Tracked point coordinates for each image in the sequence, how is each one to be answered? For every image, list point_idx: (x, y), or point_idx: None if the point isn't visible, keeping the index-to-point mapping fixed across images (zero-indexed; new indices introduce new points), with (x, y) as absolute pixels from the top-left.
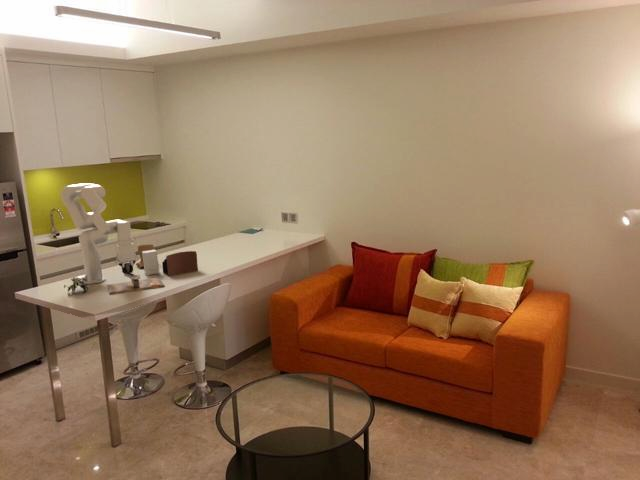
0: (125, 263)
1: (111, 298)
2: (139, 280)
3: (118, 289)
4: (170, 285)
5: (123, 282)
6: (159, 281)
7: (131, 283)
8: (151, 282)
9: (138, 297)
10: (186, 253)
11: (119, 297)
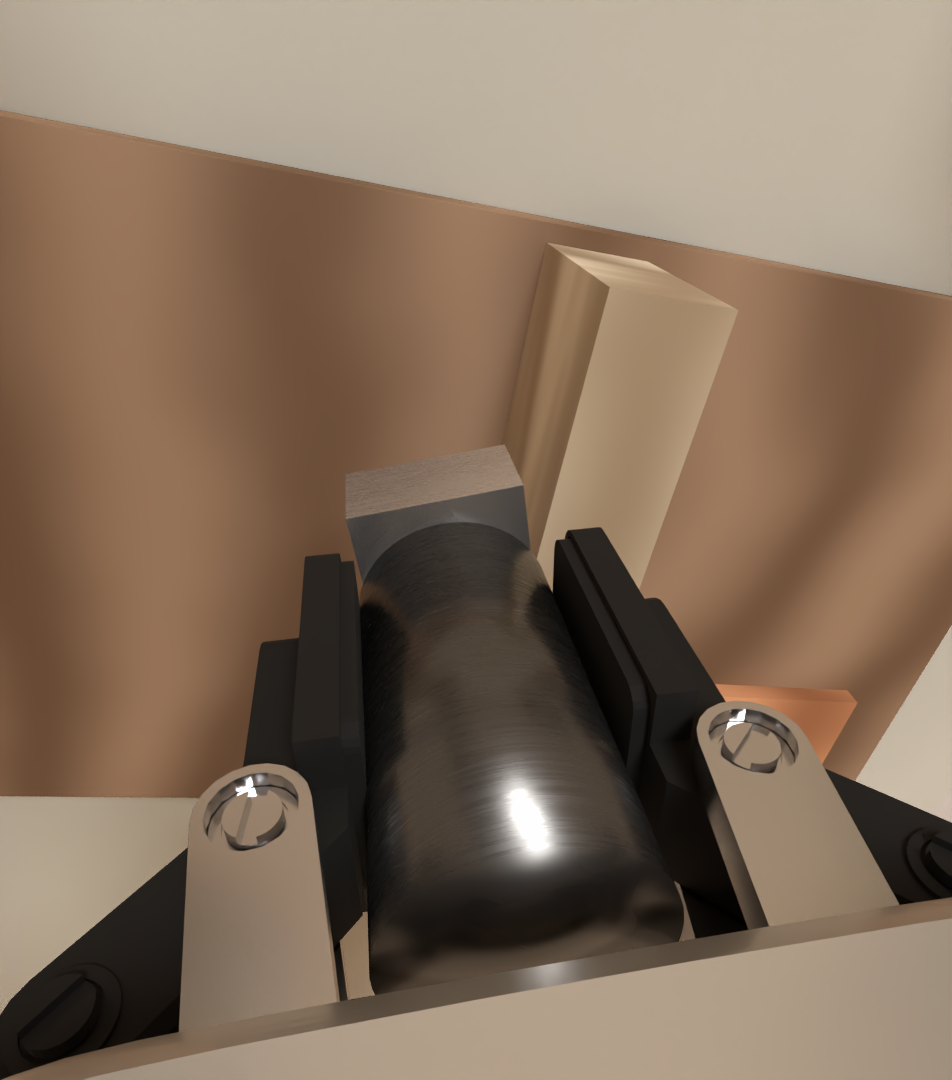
0: (456, 956)
1: (10, 921)
2: (728, 289)
3: (137, 700)
4: (908, 763)
5: (335, 188)
6: (918, 619)
7: (481, 432)
8: (798, 601)
9: (368, 995)
10: None
11: None
